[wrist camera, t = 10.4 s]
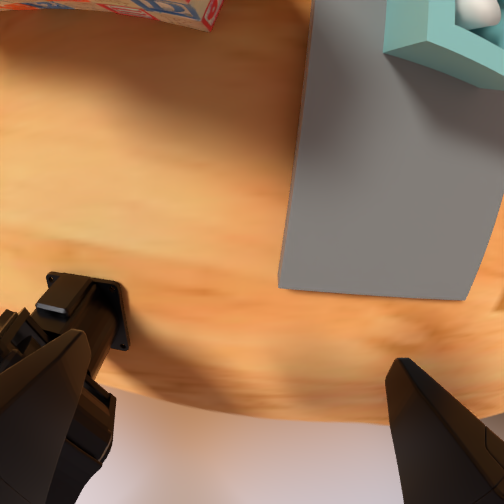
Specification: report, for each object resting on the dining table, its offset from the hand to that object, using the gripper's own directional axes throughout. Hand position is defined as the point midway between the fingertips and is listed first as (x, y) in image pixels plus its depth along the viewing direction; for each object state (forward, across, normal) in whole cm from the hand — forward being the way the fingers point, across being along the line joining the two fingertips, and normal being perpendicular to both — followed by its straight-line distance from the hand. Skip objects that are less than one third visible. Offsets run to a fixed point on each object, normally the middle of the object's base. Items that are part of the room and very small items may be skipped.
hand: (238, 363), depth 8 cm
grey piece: (+12, -9, -8) cm, 17 cm away
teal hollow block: (+10, -9, -13) cm, 19 cm away
